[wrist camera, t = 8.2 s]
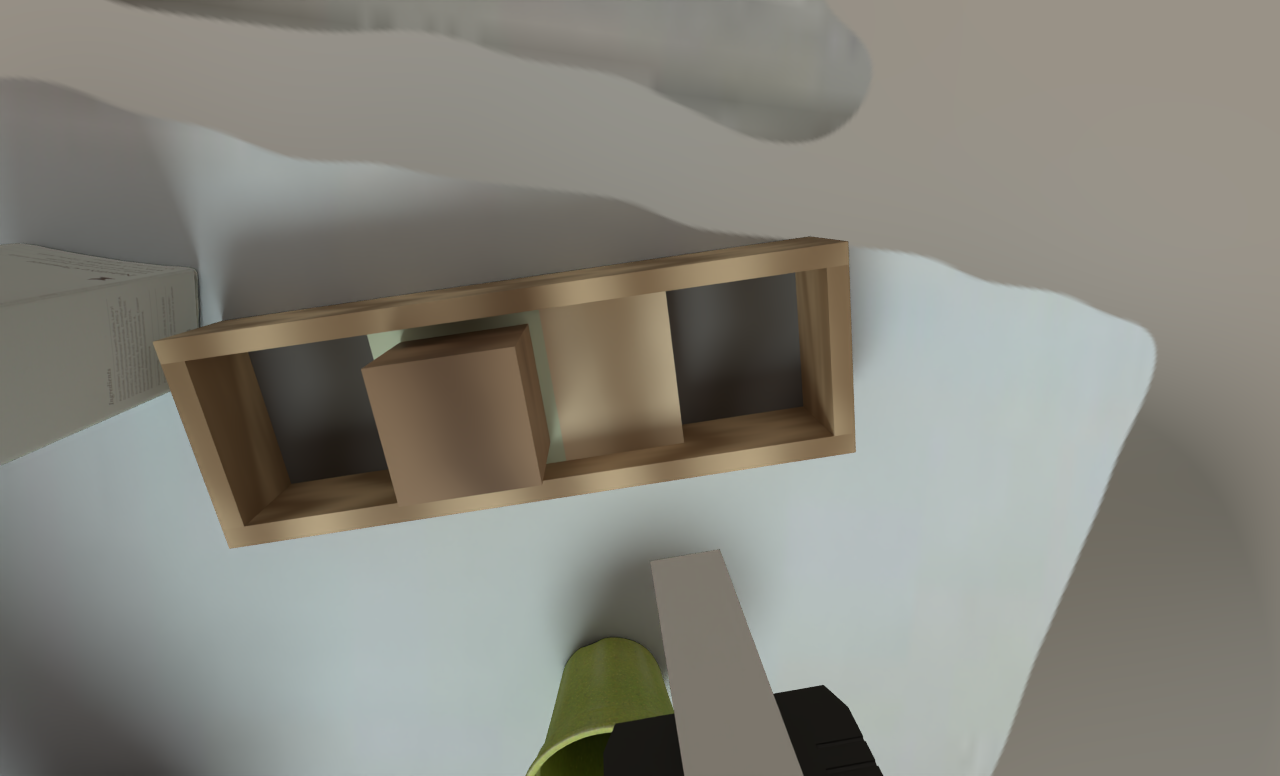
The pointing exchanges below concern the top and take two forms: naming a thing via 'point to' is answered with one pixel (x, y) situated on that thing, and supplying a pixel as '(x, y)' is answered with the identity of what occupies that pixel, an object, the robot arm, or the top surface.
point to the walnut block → (460, 414)
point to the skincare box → (81, 340)
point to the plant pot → (599, 705)
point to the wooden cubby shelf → (568, 376)
